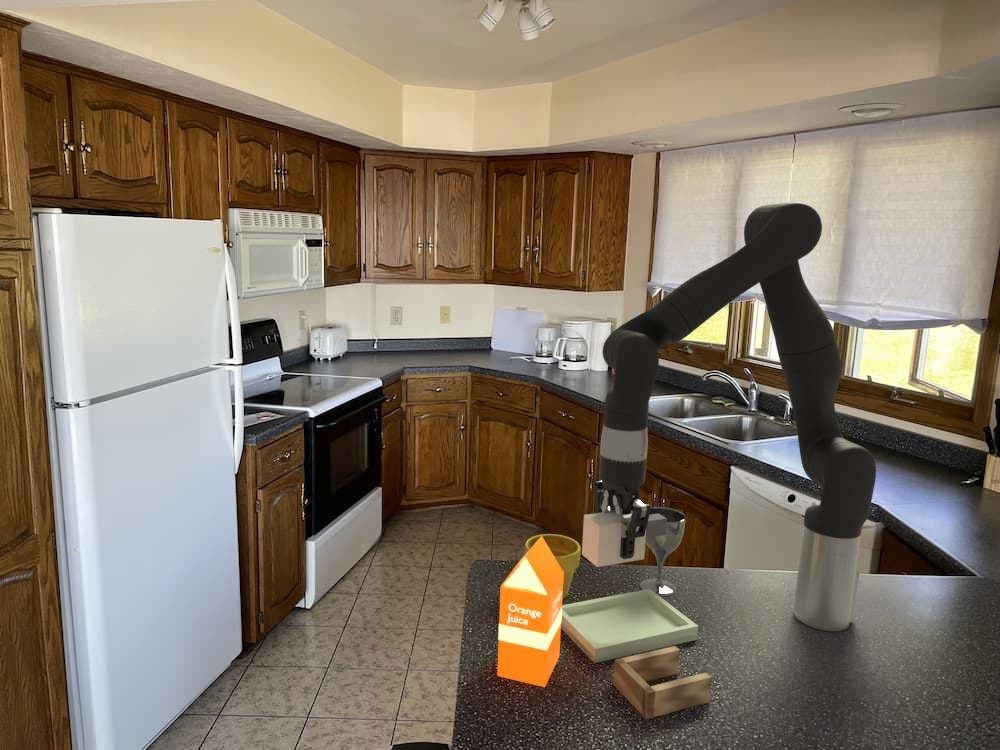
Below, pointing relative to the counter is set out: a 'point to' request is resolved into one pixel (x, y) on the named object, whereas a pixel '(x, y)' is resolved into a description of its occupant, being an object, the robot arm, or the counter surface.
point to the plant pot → (561, 555)
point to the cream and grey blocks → (615, 537)
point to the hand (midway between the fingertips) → (617, 550)
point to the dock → (662, 696)
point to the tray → (625, 625)
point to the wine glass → (664, 548)
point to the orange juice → (531, 617)
